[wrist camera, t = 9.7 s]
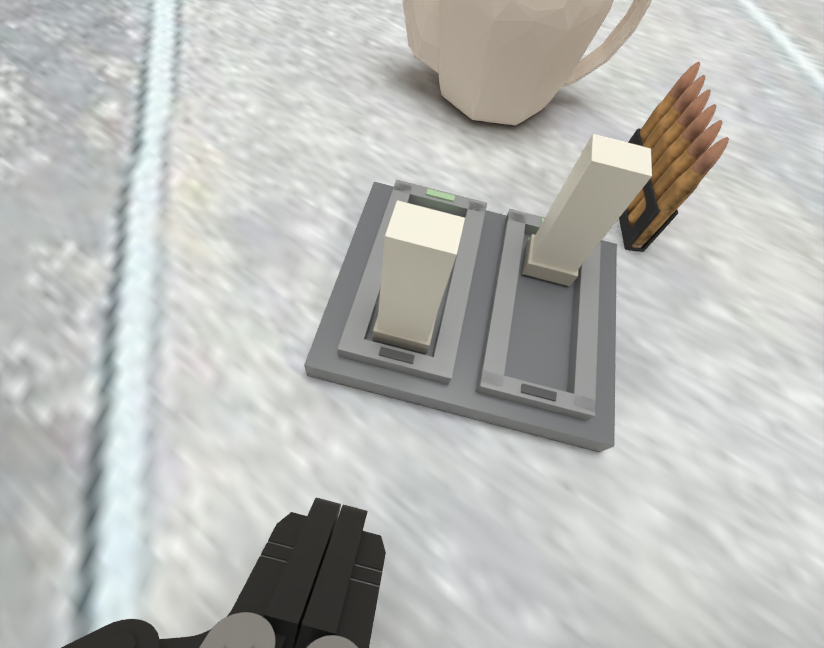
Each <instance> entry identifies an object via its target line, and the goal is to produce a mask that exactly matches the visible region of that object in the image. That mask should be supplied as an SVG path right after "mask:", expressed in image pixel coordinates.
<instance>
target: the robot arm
mask: <svg viewBox="0 0 824 648" xmlns="http://www.w3.org/2000/svg"><path fill="white" fill-rule="evenodd" d="M340 507H341V504H339V503H335V502H331V501H328V500H324V499H320V498H315V500H314V502H313V505H312V507H311V509H310V511H309V514H308V516H304V515H300V514H297V513H293V512H291V513H290V514H288V515H287V516H286V517H285V518H283V519H282V520H281V521H280V522H279V523H277V524H276V526H275V528H274V530H273V532H272V534H271V536H270V538H269V540H268V543H267V544H266V545H265V547H264V549H263V551H262V553H261V556H260V557H259V559H258V561H257V563H256V565H255V567H254V568H253V570H252V572H251V574H250V576H249V578H248V580H247V582H246V584H245V586H244V588H243V589H242V591H241V593H240V595H239V597H238V599H237V601H236V603H235V605H234V607H233V608H232V610H231V612H230V613H229V614H228V616H227V617H226V618H224V619H222V620H221V621H220V622H218V623H217V624H216V625H215V626H214V627H213V628H212V629H211V630H209V631H207V632H204V633H202V634H199V635H195V636H190V637H181V638H169V639H159V636H158V633H157V631H156V630H155V628H154V627H153V626H152V625H151V624H149V623H147V622H145V621H142V620H138V619H126V620H120V621H117V622H113V623H111V624H109V625H106V626H104V627H102V628H100V629H98V630H96V631H94V632H92V633H90V634H88V635H86V636H84V637H82V638H80V639H78V640H76V641H74V642H72V643H70V644H68V645H66V646H64V647H62V648H369V644H370V638H371V633H372V627H373V621H374V616H375V610H376V604H377V599H378V593H379V587H380V582H381V576H382V570H383V565H384V559H385V554H386V552H385V548H384V545H383V541H382V538H381V536H380V535H377V534H373V533H369V532H365V531H363V527H364V523H365V519H366V515H367V511H366V510H362V509H358V508H355V507H351V506H347V505H343V506H342V508H341V511H340ZM339 512H340V514H339ZM338 516H339V517H338Z"/></svg>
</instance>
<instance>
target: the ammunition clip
mask: <svg viewBox="0 0 824 648" xmlns="http://www.w3.org/2000/svg"><path fill="white" fill-rule="evenodd" d="M699 66H700V62H697V63H695V64H694V65H693V66H691V67H690V68H689V69H688V70H687V71H686V72H685V73H684V74H683V75H682V76H681V77H680V79H679V80H678V81H677V82H676V84H675V85H674V86H673V88H672V89H671V91H670V92H669V93H668V94H667V95H666V97H665V98H664V100H663V101H662V102H661V103H660V104H659V105H658V106H657V107H656V108H655V110H654V111H653V113H652V114H651V115H650V117H649V118H648V120H647V121H646V123H645V124H644V126H643V127H642V129H637V130H636V132H635V133H634V135H633V136H632V137H631V139H630V140H629V142H628V143H631V144H635V145H639V146H643V147H647V148H651V165H652V177H651V178H650V179H649V181H648V182H647V183H646V184H645V186H644V187H643V188H642V189H641V191H640V192H639V193H638V194H637V196H636V197H635V198H634V200H633V201H632V202H631V203H630V205H629V206H628V207H627V208H626V210H625V211H624V212H623V213H622V215H621V216H620V217H619V220H620V225H621V231H622V236H623V241H624V247H625V249H627V250H635V251H642V252H644V251H645V250H646V249H647V248H648V246H649V245H650V244H651V243H652V242H653V241H654V240H655V239H656V238H657V236H658V235H659V234H660V233H661V232H662V231H663V230H664V229H665V228H666V226H667V225H668V224H669V223H670V222H671V221H672V220H673V219H674V218H675V216H676V215H677V214H678V211H677V209H678V207H679V206H680V205H681V204H682V203H683V202H684V201H685V200H686V199H687V198H688V197H689V196H690V195H691V194H692V192H693V191H694V190H695V189H696V188H697V186H698V184H699V183H700V181H701V180H702V179H703V178H704V176H705V175H706V174H707V172H708V171H709V170H710V169H711V168H712V167H713V166H714V164H715V163H716V162H717V160H718V159H719V158H720V156H721V155H722V153H723V152H724V150H725V148H726V146H727V144H728V140H729V138H728V137H726V138H724V139H722V140H720V141H718V142H717V143H715V144H714V145H713V146H711V147H710V145H711V144H712V142H713V141H714V140H715V138H716V136H717V134H718V133H719V131H720V128H721V125H722V121H721V120H720V121H718V122H716V123H714V124H713V125H711V126H710V127H709V128H707V129H706V127H707V126H708V124H709V122H710V121H711V119H712V117H713V115H714V112H715V109H716V105H715V104H714V105H712V106H710V107H708V108H707V109H706V110H704V111H703V112H702V110H703V109H704V107H705V105H706V103H707V101H708V99H709V96H710V92H711V90H706V91H705V92H703V93H702V94H701V95H700V96H698V94H699V92H700V90H701V88H702V86H703V84H704V80H705V75H703V76H701V77H699V78H698V79H697V80H696V81H694V79H695V77H696V75H697V73H698V70H699ZM693 81H694V82H693ZM697 96H698V97H697ZM701 112H702V113H701ZM700 113H701V114H700ZM705 129H706V130H705ZM704 130H705V131H704ZM703 131H704V132H703ZM709 147H710V148H709ZM708 148H709V149H708ZM707 149H708V150H707ZM706 150H707V151H706Z"/></svg>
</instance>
